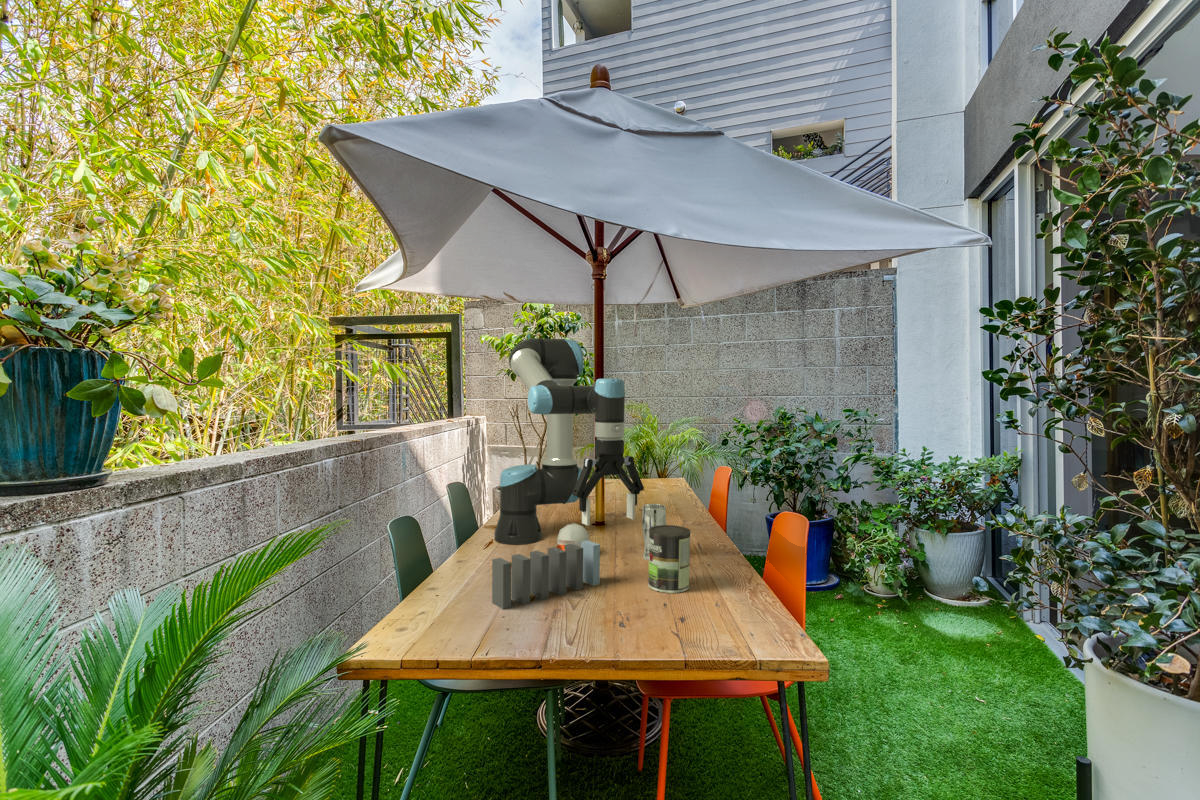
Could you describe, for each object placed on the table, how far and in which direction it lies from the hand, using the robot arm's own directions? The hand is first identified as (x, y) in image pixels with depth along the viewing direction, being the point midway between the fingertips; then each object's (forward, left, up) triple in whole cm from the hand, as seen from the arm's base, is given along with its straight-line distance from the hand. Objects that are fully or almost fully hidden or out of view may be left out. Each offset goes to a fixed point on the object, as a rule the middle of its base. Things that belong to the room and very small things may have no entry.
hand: (608, 521), depth 152 cm
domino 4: (0, -16, -15) cm, 22 cm away
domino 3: (0, -21, -15) cm, 26 cm away
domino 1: (0, -31, -15) cm, 34 cm away
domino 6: (0, -6, -15) cm, 16 cm away
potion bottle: (-20, +3, -15) cm, 25 cm away
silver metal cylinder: (-6, +22, -15) cm, 27 cm away
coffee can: (+14, +8, -15) cm, 22 cm away
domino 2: (0, -26, -15) cm, 30 cm away
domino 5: (0, -11, -15) cm, 18 cm away
